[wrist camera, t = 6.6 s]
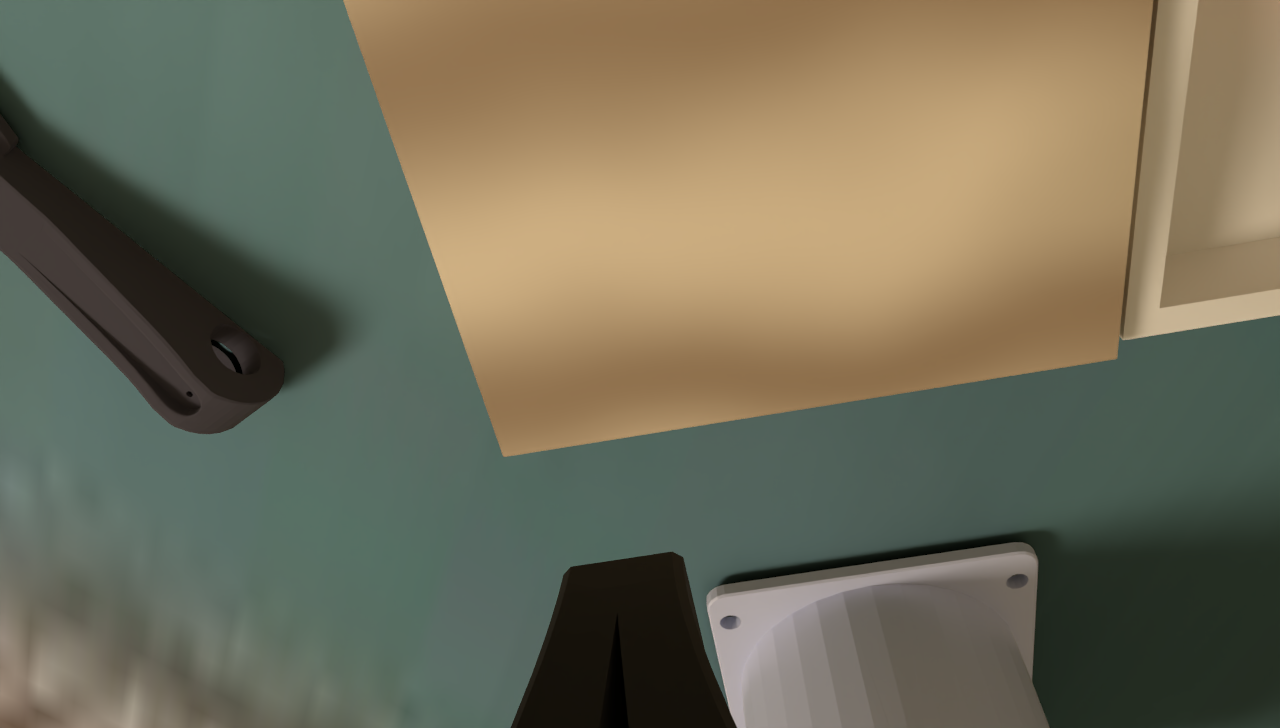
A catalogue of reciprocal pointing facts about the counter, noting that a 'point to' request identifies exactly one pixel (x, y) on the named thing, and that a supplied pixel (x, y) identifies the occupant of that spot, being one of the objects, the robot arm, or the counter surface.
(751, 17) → the large beige panel
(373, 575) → the counter surface
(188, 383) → the bracket
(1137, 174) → the tray
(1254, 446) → the counter surface
